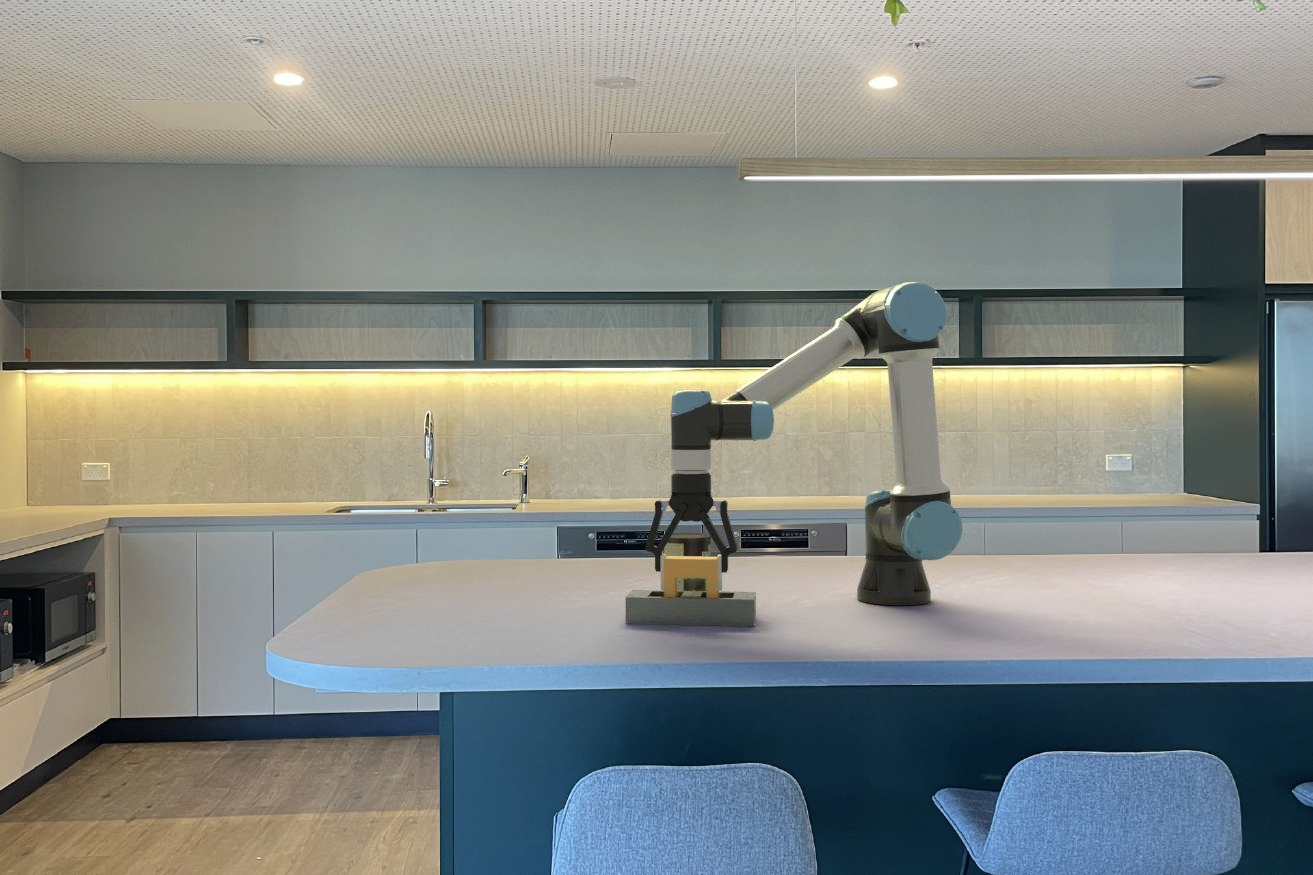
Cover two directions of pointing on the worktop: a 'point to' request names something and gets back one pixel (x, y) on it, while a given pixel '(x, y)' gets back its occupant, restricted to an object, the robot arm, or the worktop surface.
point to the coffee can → (689, 547)
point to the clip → (690, 573)
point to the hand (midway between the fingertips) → (691, 589)
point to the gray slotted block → (691, 608)
